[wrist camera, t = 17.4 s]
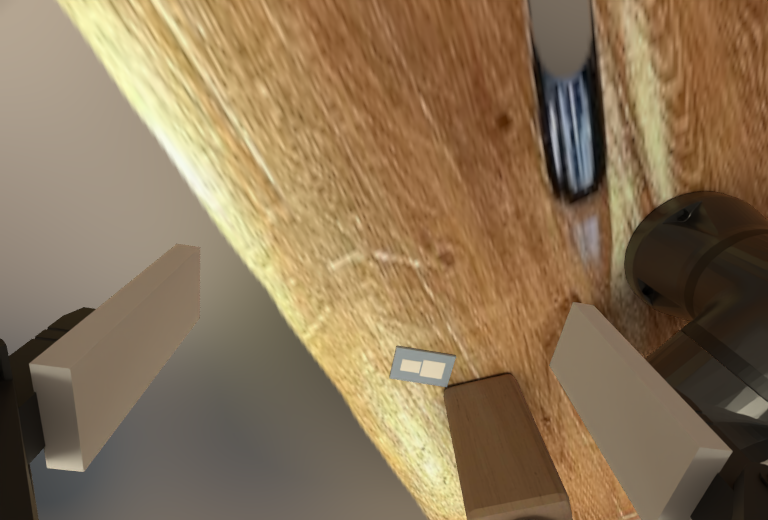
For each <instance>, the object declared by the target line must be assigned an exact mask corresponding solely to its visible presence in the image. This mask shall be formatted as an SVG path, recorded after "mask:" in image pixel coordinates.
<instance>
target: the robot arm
mask: <svg viewBox="0 0 768 520" xmlns="http://www.w3.org/2000/svg"><path fill="white" fill-rule="evenodd" d="M625 273H626V277H627V281H628V283H629V285H630V287H631V288H632V290H633V291H634V292H635V294H636V295H637V296H638V297H640V298H641V299H642V300H643V301H644V302H646V303H647V304H648V305H649V306H651V307H652V308H654V309H656V310H658V311H660V312H662V313H665V314H668V315H671V316H675V317H678V318H682V319H685V320H689V321H691V322H690V323H689V324H687V325H686V326H685V327H684V328H683V329H681V330H680V331H679V332H677V333H676V334H675V335H674V336H673V337H671V338H670V339H669V340H668V341H667V342H665V343H664V344H663V345H662V346H661V347H659V348H658V349H657V350H656V351H655V352H653V353H652V354H651V355H650V356H649V357H647V358H646V359H644V358H643V357H642V356H641V355H640V354H639V352H638V351H637V350H636V349H635V348H634V347H633V346H632V345H631V344H630V343H629V342H628V341H627V340H626V339H625V338H624V337H623V336H622V335H621V334H620V333H619V331H618V330H617V329H616V328H615V327H614V326H613V325H612V324H611V323H610V322H609V321H608V320H607V319H606V318H605V317H604V316H603V315H602V314H601V313H600V312H599V310H598V309H597V308H596V307H595V306H594V305H589V304H582V303H575V302H573V304H572V307H571V309H570V312H569V315H568V317H567V320H566V323H565V325H564V328H563V330H562V333H561V336H560V338H559V341H558V344H557V346H556V349H555V352H554V354H553V357H552V360H551V362H550V365H549V366H550V367H551V369H552V371H553V372H554V374H555V376H556V377H557V379H558V381H559V382H560V384H561V386H562V387H563V389H564V391H565V392H566V394H567V396H568V397H569V399H570V401H571V402H572V404H573V406H574V407H575V409H576V411H577V412H578V414H579V416H580V417H581V419H582V421H583V422H584V424H585V426H586V427H587V429H588V431H589V433H590V434H591V436H592V438H593V439H594V441H595V443H596V444H597V446H598V448H599V449H600V451H601V453H602V454H603V456H604V458H605V459H606V461H607V463H608V464H609V466H610V468H611V469H612V471H613V473H614V474H615V476H616V478H617V479H618V481H619V483H620V484H621V486H622V488H623V489H624V491H625V493H626V494H627V496H628V498H629V499H630V501H631V503H632V504H633V506H634V508H635V509H636V511H637V513H638V515H639V516H640V518H641V520H768V221H767V220H766V219H765V218H764V217H763V216H762V215H761V214H760V213H759V212H758V211H757V210H756V209H755V208H754V207H752V206H751V205H750V204H748V203H746V202H744V201H743V200H740V199H738V198H735V197H732V196H729V195H726V194H722V193H718V192H710V191H702V192H693V193H689V194H685V195H682V196H679V197H677V198H674V199H672V200H670V201H668V202H666V203H664V204H663V205H661V206H660V207H658V208H657V209H656V210H654V211H653V212H652V213H651V214H650V215H649V216H648V217H647V218H646V219H645V220H644V221H643V222H642V223H641V224H640V226H639V227H638V228H637V230H636V231H635V233H634V234H633V236H632V238H631V240H630V242H629V245H628V248H627V251H626V256H625ZM199 318H200V247H195V246H189V245H181V244H176V245H175V246H174V247H172V248H171V249H170V250H169V251H167V252H166V253H165V254H164V255H163V256H161V257H160V258H159V259H157V260H156V261H155V262H154V263H153V264H151V265H150V266H149V267H148V268H146V269H145V270H144V271H143V272H142V273H140V274H139V275H138V276H137V277H135V278H134V279H133V280H132V281H130V282H129V283H128V284H127V285H125V286H124V287H123V288H122V289H121V290H119V291H118V292H117V293H116V294H114V295H113V296H112V297H111V298H109V299H108V300H107V301H106V302H105V303H103V304H102V305H101V306H100V307H98V308H97V309H92V308H85V307H83V308H81V309H79V310H76V311H74V312H71V313H69V314H66V315H64V316H62V317H61V318H60V319H58V320H57V321H56V322H54V323H53V324H51V325H50V326H49V327H48V329H47V330H43V331H42V332H41V333H39V334H38V335H37V336H36V337H35V339H31V340H30V341H29V342H27V343H26V344H25V345H23V346H22V347H21V348H19V349H18V350H17V351H15V352H14V353H13V354H11V355H10V356H8V351H7V346H6V344H5V342H4V341H3V340H2V339H0V520H39V519H38V513H37V506H36V500H35V494H34V487H33V480H32V474H31V469H30V462H31V461H32V460H33V459H34V458H35V457H36V456H37V455H38V454H39V453H40V451H41V450H42V449H43V448H44V452H45V458H46V464H47V468H53V469H62V470H71V471H81V472H84V471H85V470H86V468H87V467H88V466H89V464H90V463H91V462H92V460H93V459H94V458H95V456H96V455H97V454H98V452H99V451H100V450H101V448H102V447H103V446H104V444H105V443H106V442H107V440H108V439H109V438H110V436H111V435H112V434H113V432H114V431H115V430H116V428H117V427H118V426H119V424H120V423H121V422H122V421H123V419H124V418H125V416H126V415H127V414H128V413H129V411H130V410H131V409H132V407H133V406H134V405H135V403H136V402H137V401H138V399H139V398H140V397H141V395H142V394H143V393H144V391H145V390H146V389H147V387H148V386H149V385H150V383H151V382H152V381H153V379H154V378H155V377H156V375H157V374H158V373H159V371H160V370H161V368H162V367H163V366H164V364H165V363H166V362H167V361H168V359H169V358H170V357H171V355H172V354H173V353H174V351H175V350H176V349H177V347H178V346H179V345H180V344H181V342H182V341H183V340H184V338H185V337H186V335H187V334H188V333H189V332H190V330H191V329H192V328H193V326H194V325H195V324H196V322H197V321H198V320H199ZM683 332H684V333H683ZM688 336H689V337H688ZM693 340H694V341H695V342H694V341H693ZM700 346H701V347H700ZM705 350H706V351H707V352H706V351H705ZM711 355H712V356H713V357H712V356H711ZM717 360H718V361H719V362H718V361H717ZM722 364H723V365H724V366H725V367H724V366H723V365H722ZM729 370H730V371H729ZM735 375H736V376H735ZM741 380H742V381H741ZM747 385H748V386H747Z"/></svg>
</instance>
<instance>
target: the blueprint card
mask: <svg viewBox="0 0 768 520" xmlns="http://www.w3.org/2000/svg"><path fill="white" fill-rule="evenodd" d="M455 358H456V356H455V355H451V354H444V353H438V352H432V351H426V350H420V349H413V348H407V347H401V346H397V347H396V351H395V356H394V360H393V364H392V368H391V373H390V378H391V379H397V380H404V381H410V382H417V383H423V384H430V385H436V386H442V387H447V385H448V382H449V378H450V375H451V372H452V368H453V365H454V362H455Z"/></svg>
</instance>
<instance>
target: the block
mask: <svg viewBox="0 0 768 520" xmlns="http://www.w3.org/2000/svg"><path fill="white" fill-rule="evenodd" d="M444 401H445V406H446V411H447V417H448V422H449V427H450V432H451V438H452V443H453V448H454V453H455V459H456V464H457V469H458V474H459V480H460V485H461V490H462V495H463V501H464V506H465V511H466V516H467V520H573V519H572V513H571V507H570V501H569V497H568V495H567V493H566V490H565V488H564V486H563V484H562V481H561V479H560V477H559V475H558V472H557V470H556V468H555V466H554V463H553V461H552V459H551V457H550V455H549V452H548V450H547V448H546V446H545V443H544V441H543V439H542V437H541V434H540V432H539V430H538V428H537V425H536V423H535V421H534V419H533V416H532V414H531V412H530V410H529V408H528V405H527V403H526V401H525V399H524V396H523V394H522V392H521V390H520V387H519V385H518V383H517V381H516V379H515V378H514V377H513V376H512V375H511V374H505V375H501V376H496V377H492V378H487V379H483V380H479V381H474V382H470V383H465V384H461V385H457V386H452V387H448V388H447V389H445V392H444Z"/></svg>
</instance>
